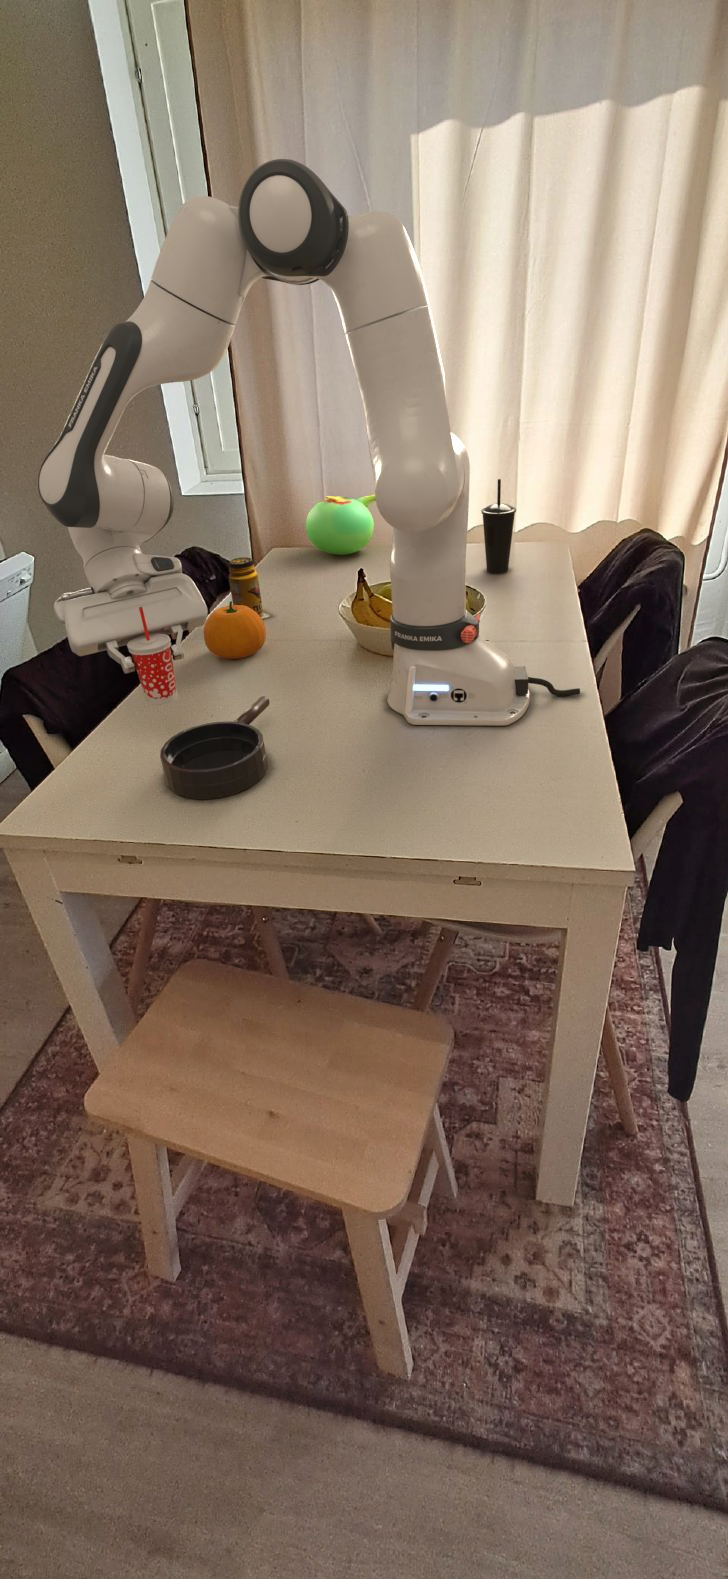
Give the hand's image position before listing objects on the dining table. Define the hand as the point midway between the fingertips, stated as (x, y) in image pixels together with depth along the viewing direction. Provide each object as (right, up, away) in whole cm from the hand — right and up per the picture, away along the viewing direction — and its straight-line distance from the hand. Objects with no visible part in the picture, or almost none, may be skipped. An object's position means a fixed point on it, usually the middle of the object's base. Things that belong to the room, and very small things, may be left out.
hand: (155, 664), depth 110 cm
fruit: (+6, +8, +36) cm, 37 cm away
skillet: (+9, -16, -2) cm, 18 cm away
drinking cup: (+61, +33, +67) cm, 96 cm away
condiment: (+5, +18, +53) cm, 56 cm away
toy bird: (+25, +44, +90) cm, 103 cm away
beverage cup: (0, -5, +4) cm, 6 cm away
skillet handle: (+13, -7, +5) cm, 16 cm away
